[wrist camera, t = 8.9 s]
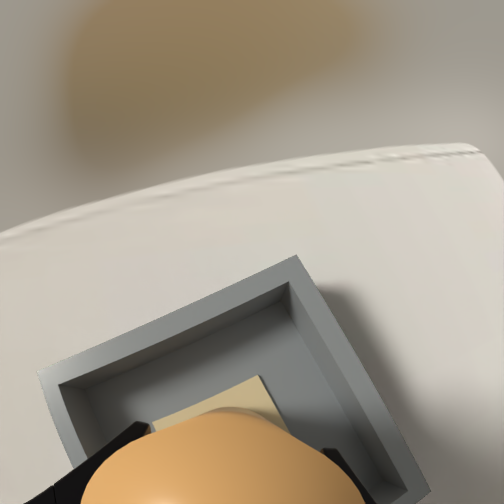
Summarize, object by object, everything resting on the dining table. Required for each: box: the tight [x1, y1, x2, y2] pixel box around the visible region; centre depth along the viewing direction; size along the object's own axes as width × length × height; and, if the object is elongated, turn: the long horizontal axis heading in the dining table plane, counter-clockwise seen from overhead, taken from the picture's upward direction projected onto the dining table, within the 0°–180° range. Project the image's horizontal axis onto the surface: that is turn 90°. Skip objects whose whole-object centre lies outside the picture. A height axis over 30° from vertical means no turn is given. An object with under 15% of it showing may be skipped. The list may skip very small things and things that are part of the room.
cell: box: [81, 407, 365, 504], centre depth 8 cm, size 5×5×12 cm
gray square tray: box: [37, 255, 431, 504], centre depth 13 cm, size 14×14×4 cm
